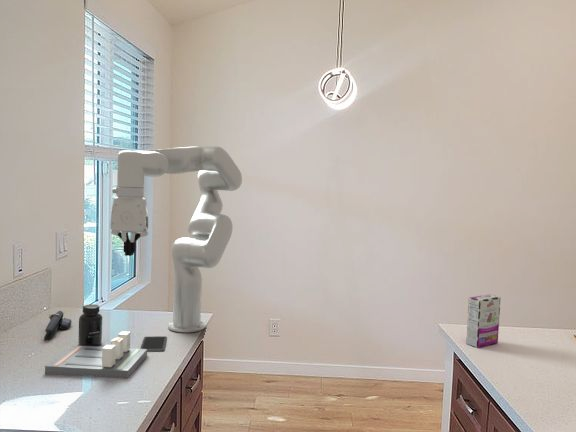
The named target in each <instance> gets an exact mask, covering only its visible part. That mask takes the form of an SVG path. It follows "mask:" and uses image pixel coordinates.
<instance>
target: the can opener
mask: <svg viewBox="0 0 576 432" xmlns="http://www.w3.org/2000/svg"><path fill="white" fill-rule="evenodd" d="M48 318H49V322H48V323H47V326H46V327H45V329H44V330H45V331H44V332H45V335H44V338H43V339H44V340H46V341H50V340H52V339H53V338H54V337H55V335H56V333H57V331H58V329H59V328H60V330H68V329H69V328H71V325H72V319H70V318H66V317H64V312H63V311H62V310H58V311H57V312H55V313H54V314H49V317H48Z"/></svg>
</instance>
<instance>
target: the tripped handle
mask: <svg viewBox="0 0 576 432" xmlns="http://www.w3.org/2000/svg"><path fill="white" fill-rule="evenodd" d="M110 345H116V353H115V359H120V358H121V357H122V356H123V338H121V337H118V336H117V337H114V338H113V339H111V340H110Z"/></svg>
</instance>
